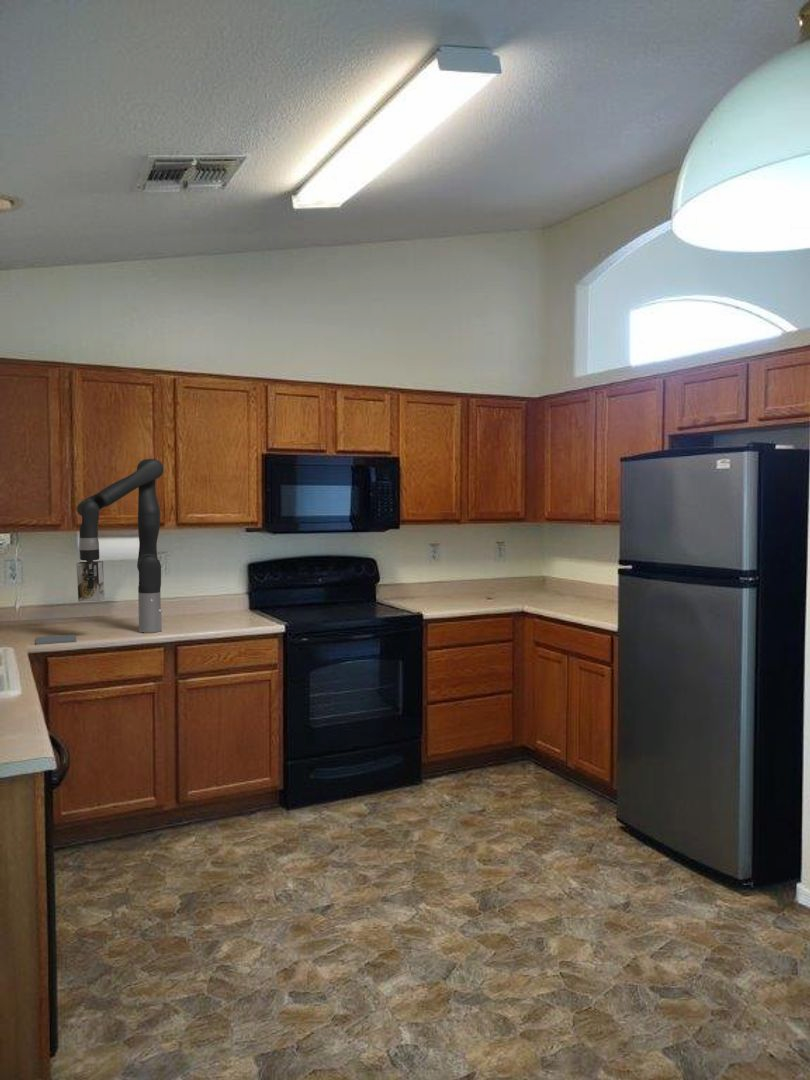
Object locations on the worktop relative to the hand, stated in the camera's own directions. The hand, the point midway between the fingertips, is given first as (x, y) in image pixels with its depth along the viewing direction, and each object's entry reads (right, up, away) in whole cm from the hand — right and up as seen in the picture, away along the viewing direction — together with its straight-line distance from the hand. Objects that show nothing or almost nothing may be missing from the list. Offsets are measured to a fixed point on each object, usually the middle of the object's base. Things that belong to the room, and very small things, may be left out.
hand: (90, 587), depth 326 cm
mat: (-13, -21, -4) cm, 25 cm away
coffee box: (0, -6, 0) cm, 6 cm away
